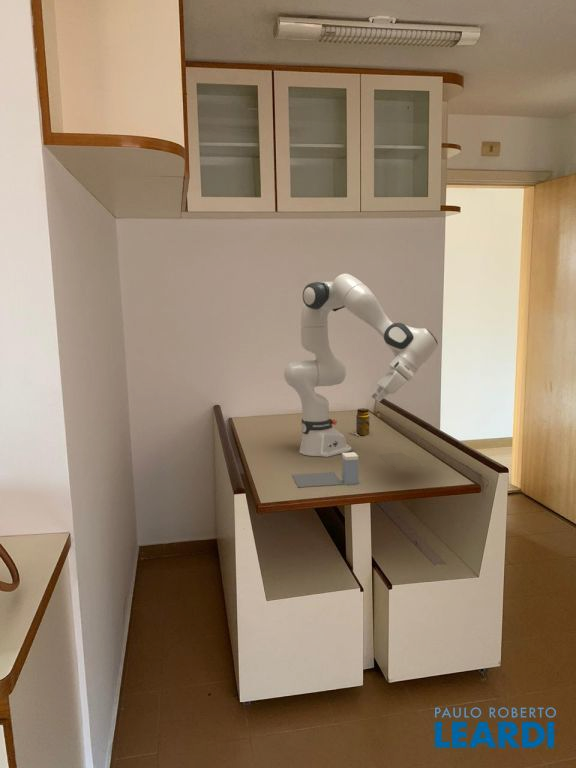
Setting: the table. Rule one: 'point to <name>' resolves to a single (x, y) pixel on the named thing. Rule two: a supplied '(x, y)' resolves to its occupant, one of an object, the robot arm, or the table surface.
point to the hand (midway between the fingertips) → (374, 399)
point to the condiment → (362, 422)
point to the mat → (317, 479)
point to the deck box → (350, 468)
